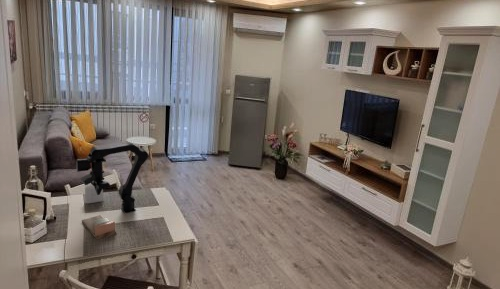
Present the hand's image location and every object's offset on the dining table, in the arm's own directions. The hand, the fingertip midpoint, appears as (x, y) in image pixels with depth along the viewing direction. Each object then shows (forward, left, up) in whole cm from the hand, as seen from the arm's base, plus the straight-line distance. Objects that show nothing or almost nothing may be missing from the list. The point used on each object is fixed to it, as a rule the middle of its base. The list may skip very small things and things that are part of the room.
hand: (98, 194), depth 198 cm
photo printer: (-4, -19, -13) cm, 23 cm away
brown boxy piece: (+6, +14, -13) cm, 20 cm away
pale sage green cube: (+6, +19, -11) cm, 23 cm away
